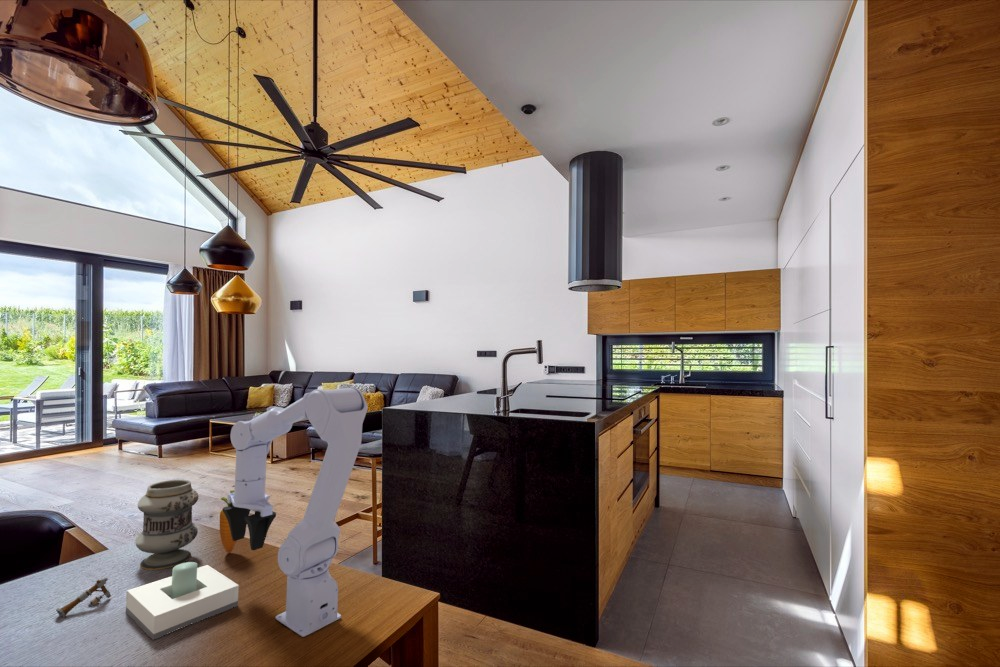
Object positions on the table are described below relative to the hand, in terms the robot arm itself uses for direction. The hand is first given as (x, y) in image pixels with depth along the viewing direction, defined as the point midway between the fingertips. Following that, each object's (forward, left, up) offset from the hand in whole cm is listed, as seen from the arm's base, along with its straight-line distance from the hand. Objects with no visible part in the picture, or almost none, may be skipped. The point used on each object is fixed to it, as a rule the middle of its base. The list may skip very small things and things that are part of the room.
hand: (247, 543), depth 97 cm
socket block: (+3, +10, -10) cm, 15 cm away
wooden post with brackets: (+18, +22, -10) cm, 30 cm away
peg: (+3, +10, -9) cm, 14 cm away
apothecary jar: (+29, +4, -10) cm, 31 cm away
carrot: (+22, -7, -10) cm, 25 cm away
